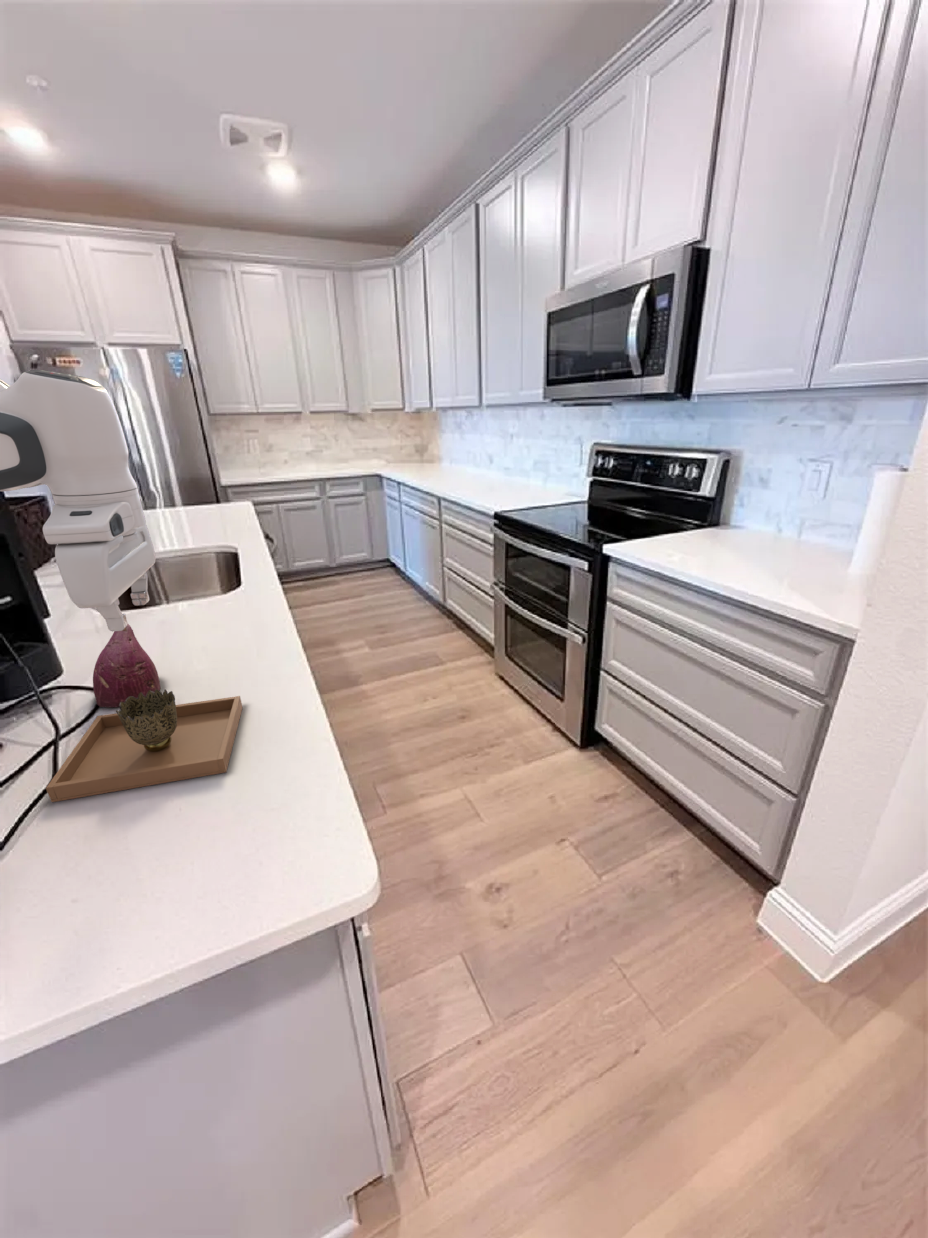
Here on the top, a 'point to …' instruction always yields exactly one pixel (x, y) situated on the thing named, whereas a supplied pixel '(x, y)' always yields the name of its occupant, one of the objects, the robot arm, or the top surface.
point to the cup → (150, 719)
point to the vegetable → (123, 670)
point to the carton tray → (125, 764)
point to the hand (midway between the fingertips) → (131, 615)
